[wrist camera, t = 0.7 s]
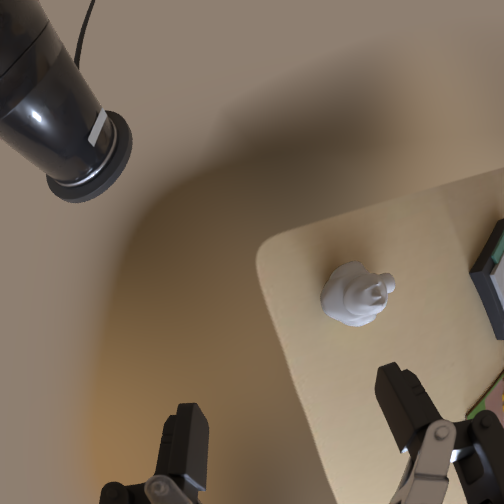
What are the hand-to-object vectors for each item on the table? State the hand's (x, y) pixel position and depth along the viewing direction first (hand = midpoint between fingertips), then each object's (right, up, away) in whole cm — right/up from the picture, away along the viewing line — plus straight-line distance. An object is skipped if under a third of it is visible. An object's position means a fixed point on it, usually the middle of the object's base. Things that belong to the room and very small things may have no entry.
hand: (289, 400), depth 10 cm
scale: (+33, +3, +15) cm, 36 cm away
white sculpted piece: (+7, +2, +14) cm, 16 cm away
